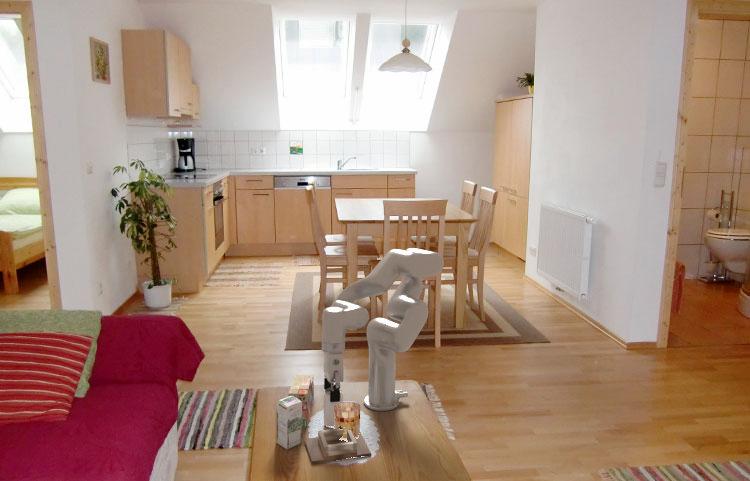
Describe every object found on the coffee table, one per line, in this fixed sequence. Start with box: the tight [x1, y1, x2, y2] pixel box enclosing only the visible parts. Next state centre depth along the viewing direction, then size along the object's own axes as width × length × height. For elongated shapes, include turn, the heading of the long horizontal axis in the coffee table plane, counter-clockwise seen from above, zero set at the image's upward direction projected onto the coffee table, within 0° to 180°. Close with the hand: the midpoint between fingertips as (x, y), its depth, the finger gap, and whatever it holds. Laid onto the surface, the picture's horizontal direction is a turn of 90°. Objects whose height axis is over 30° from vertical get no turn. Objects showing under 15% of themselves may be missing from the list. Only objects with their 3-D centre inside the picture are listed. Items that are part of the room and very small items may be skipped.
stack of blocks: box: [287, 374, 315, 428], centre depth 200 cm, size 21×6×12 cm, turn 0°
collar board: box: [304, 427, 372, 465], centre depth 178 cm, size 18×13×4 cm
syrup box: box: [276, 396, 303, 451], centre depth 180 cm, size 6×6×14 cm
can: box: [323, 388, 344, 426], centre depth 192 cm, size 6×6×12 cm
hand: (331, 395), depth 191 cm, fingers open, 9 cm apart
